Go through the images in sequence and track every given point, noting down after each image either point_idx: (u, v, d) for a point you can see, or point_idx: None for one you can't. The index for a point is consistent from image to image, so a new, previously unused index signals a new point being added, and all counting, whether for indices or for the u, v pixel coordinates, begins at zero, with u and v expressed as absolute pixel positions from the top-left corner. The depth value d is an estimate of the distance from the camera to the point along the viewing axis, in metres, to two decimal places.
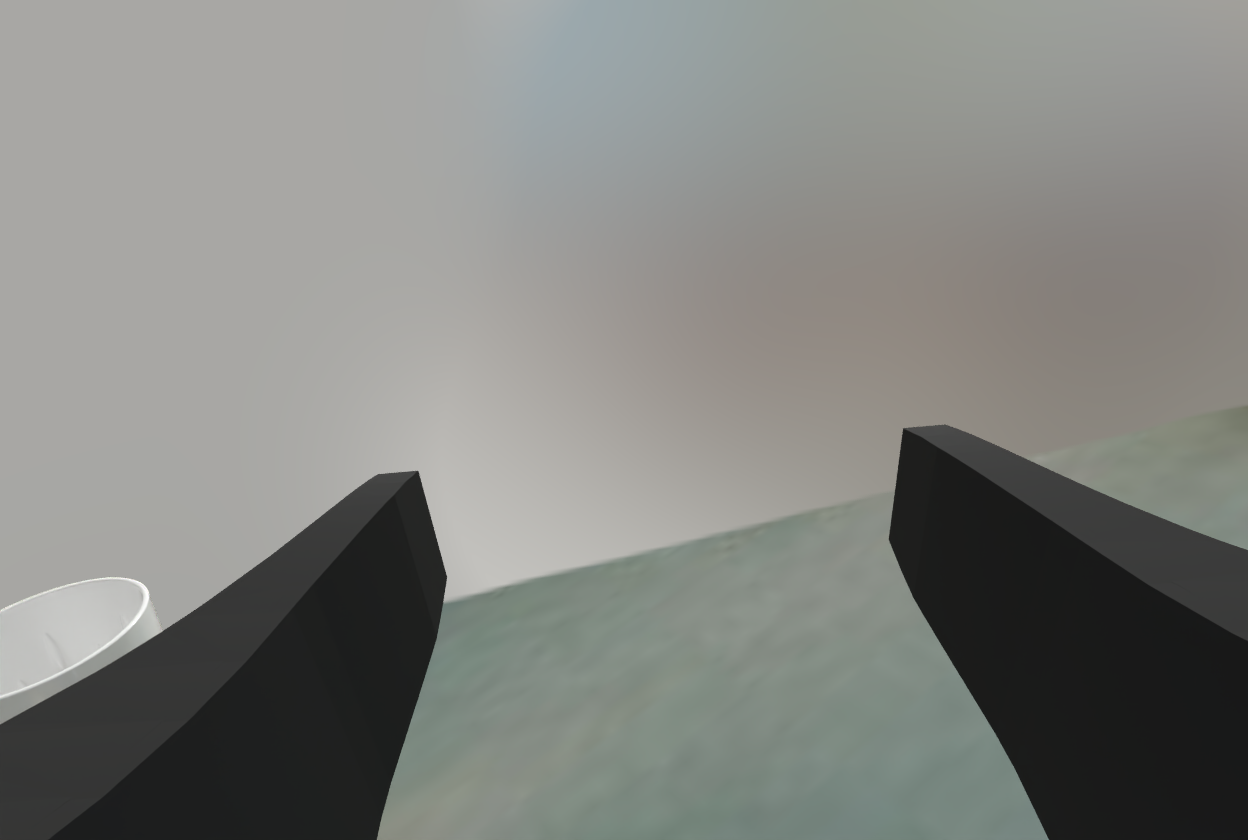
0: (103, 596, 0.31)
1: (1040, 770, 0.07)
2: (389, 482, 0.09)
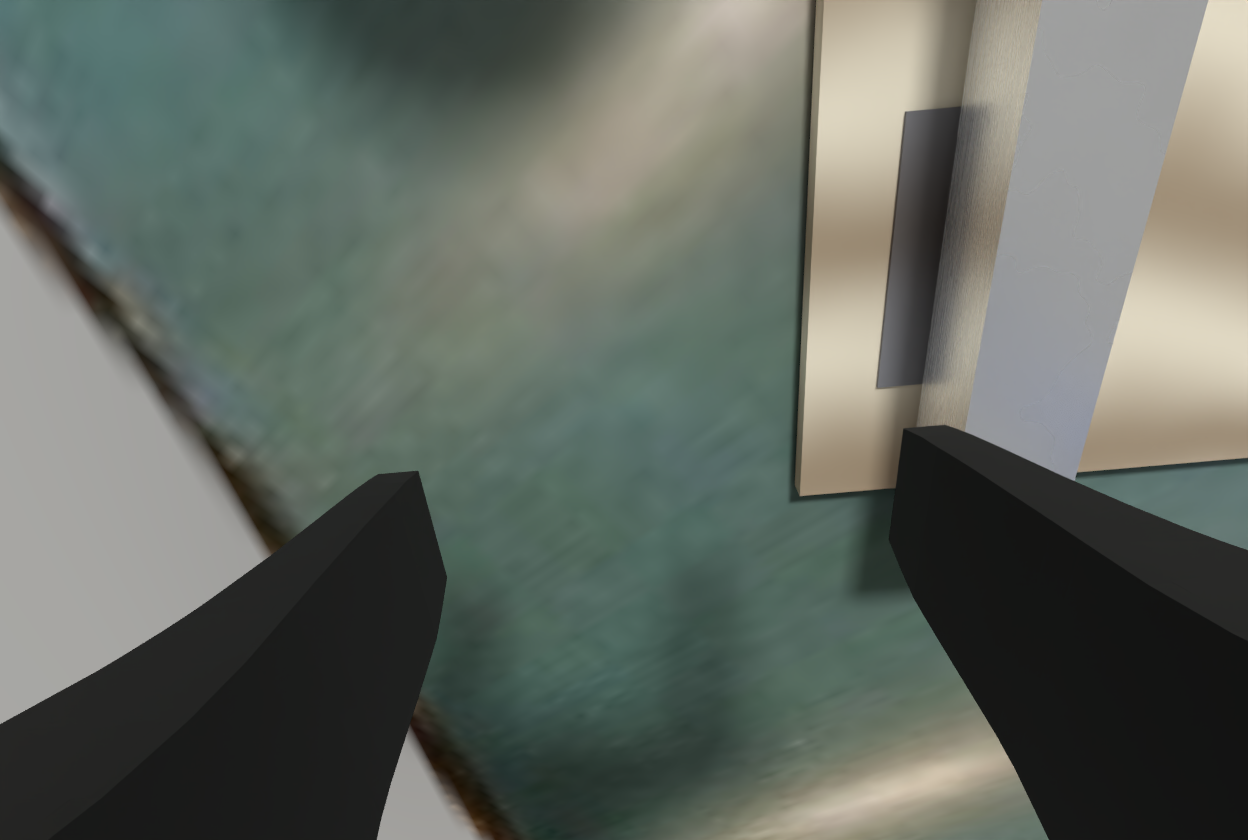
0: None
1: (1040, 770, 0.07)
2: (389, 482, 0.09)
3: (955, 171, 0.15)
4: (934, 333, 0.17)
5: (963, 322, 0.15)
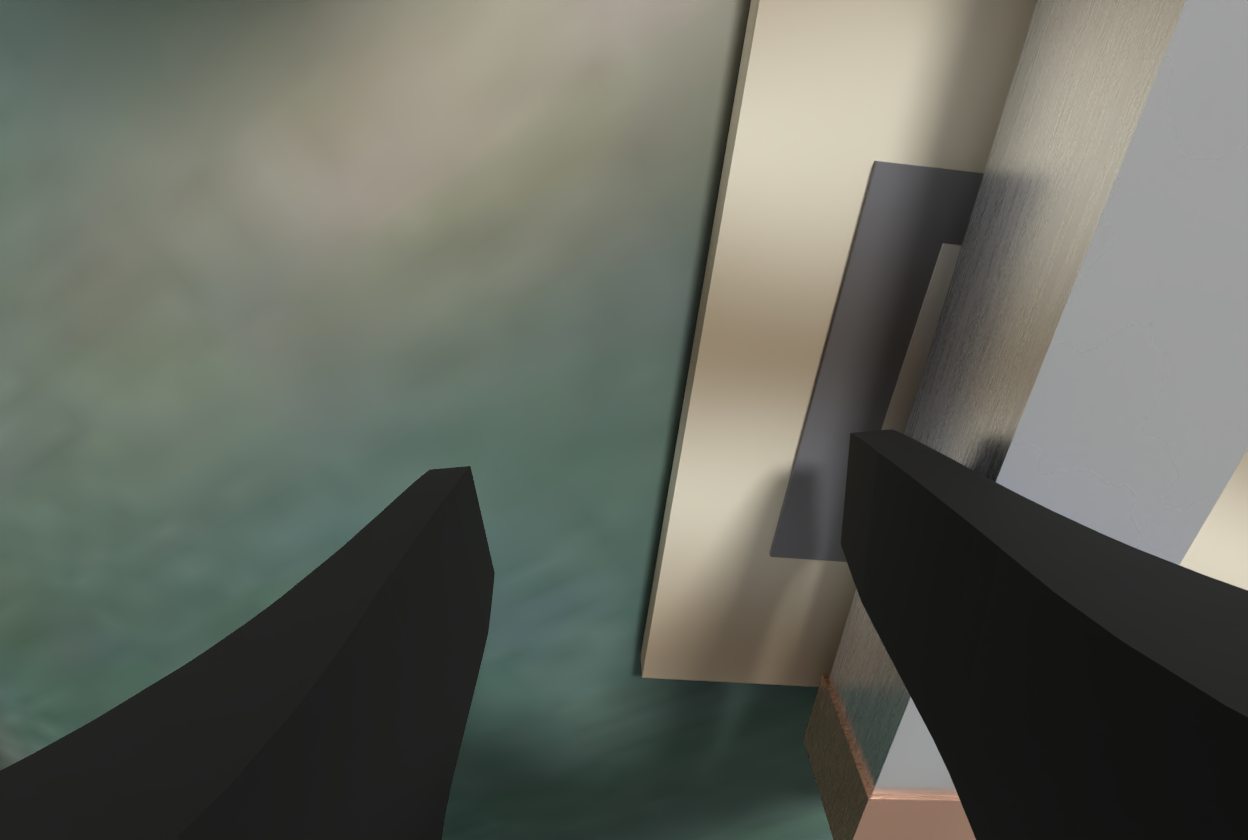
0: None
1: (970, 776, 0.07)
2: (444, 477, 0.09)
3: (957, 279, 0.09)
4: None
5: None
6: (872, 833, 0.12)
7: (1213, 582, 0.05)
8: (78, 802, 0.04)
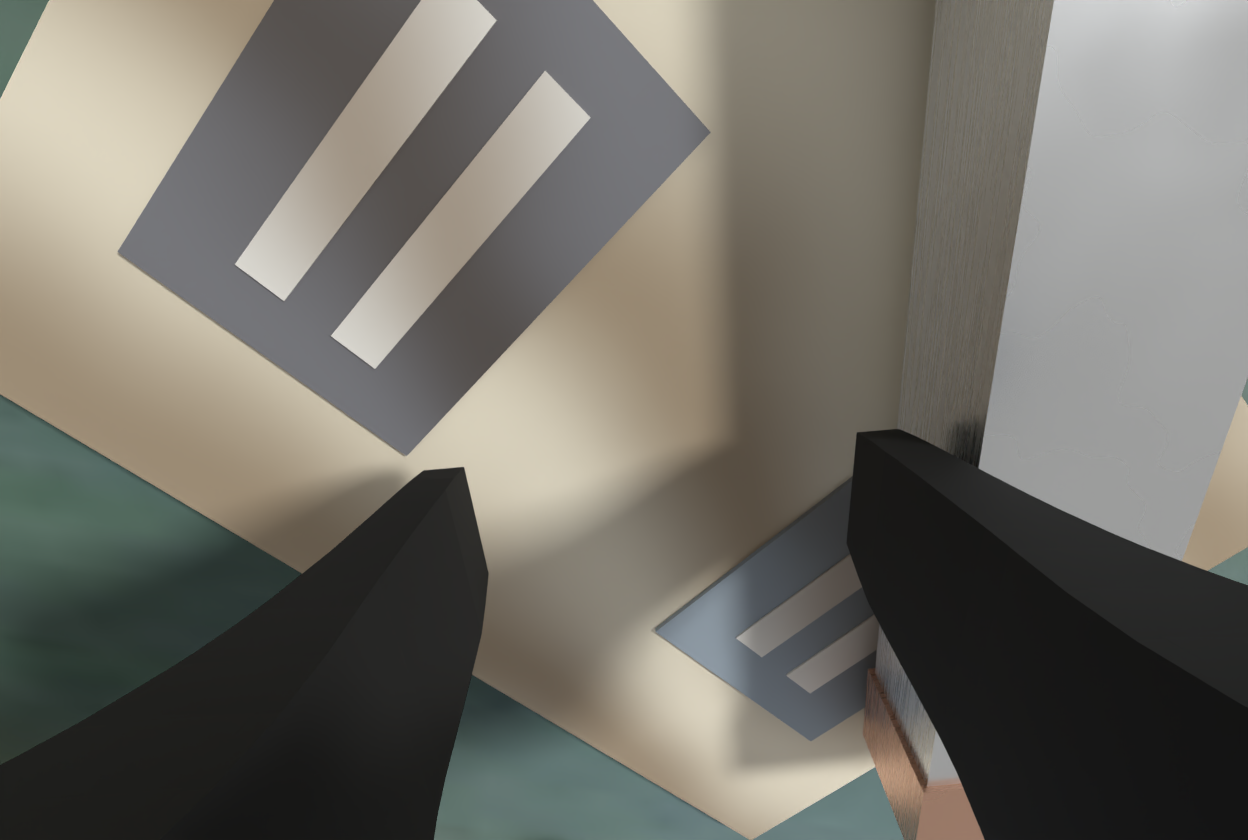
0: None
1: (978, 775, 0.07)
2: (437, 478, 0.09)
3: (915, 273, 0.09)
4: None
5: None
6: (936, 825, 0.11)
7: (1224, 581, 0.05)
8: (60, 805, 0.04)
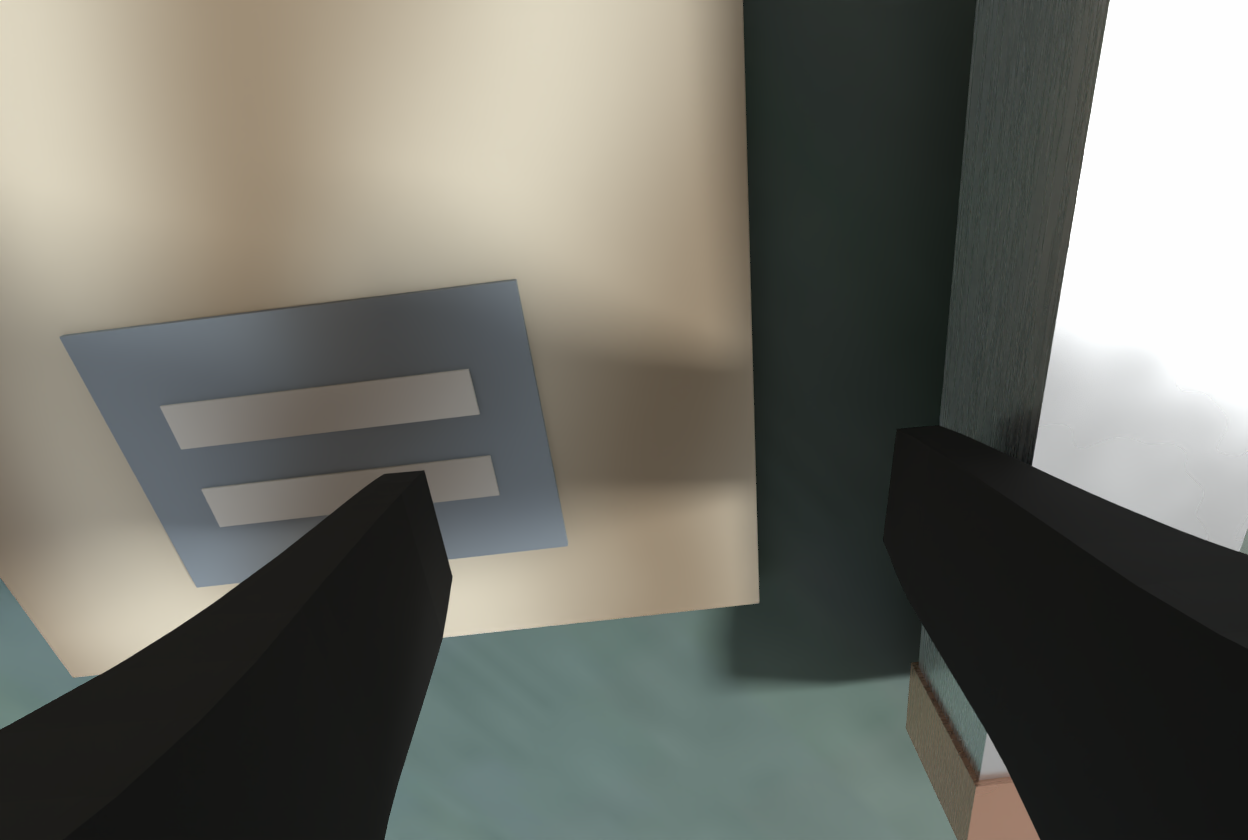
0: None
1: (1031, 771, 0.07)
2: (395, 481, 0.09)
3: (958, 263, 0.09)
4: None
5: None
6: (988, 819, 0.11)
7: None
8: None
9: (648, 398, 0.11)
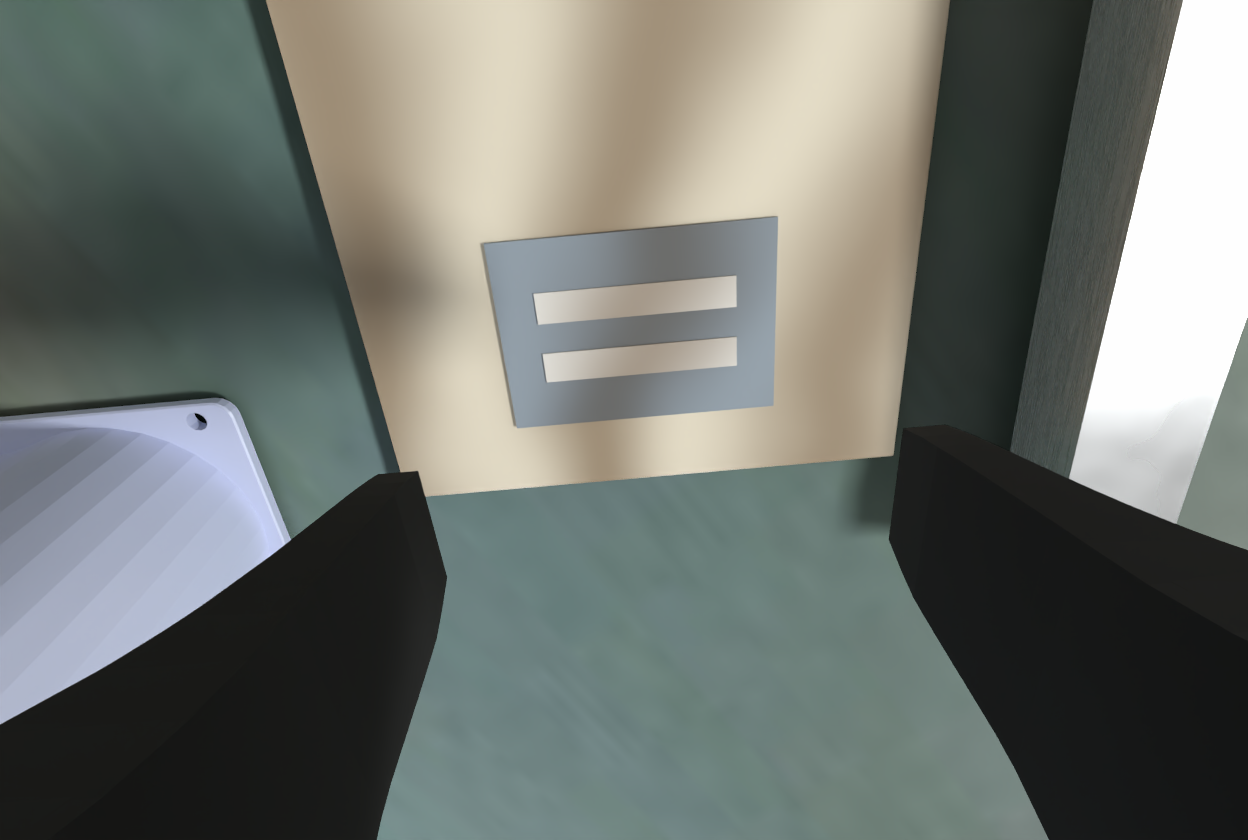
0: None
1: (1040, 770, 0.07)
2: (389, 482, 0.09)
3: (1058, 212, 0.15)
4: (1031, 370, 0.17)
5: (1068, 363, 0.15)
6: None
7: None
8: None
9: (844, 300, 0.17)
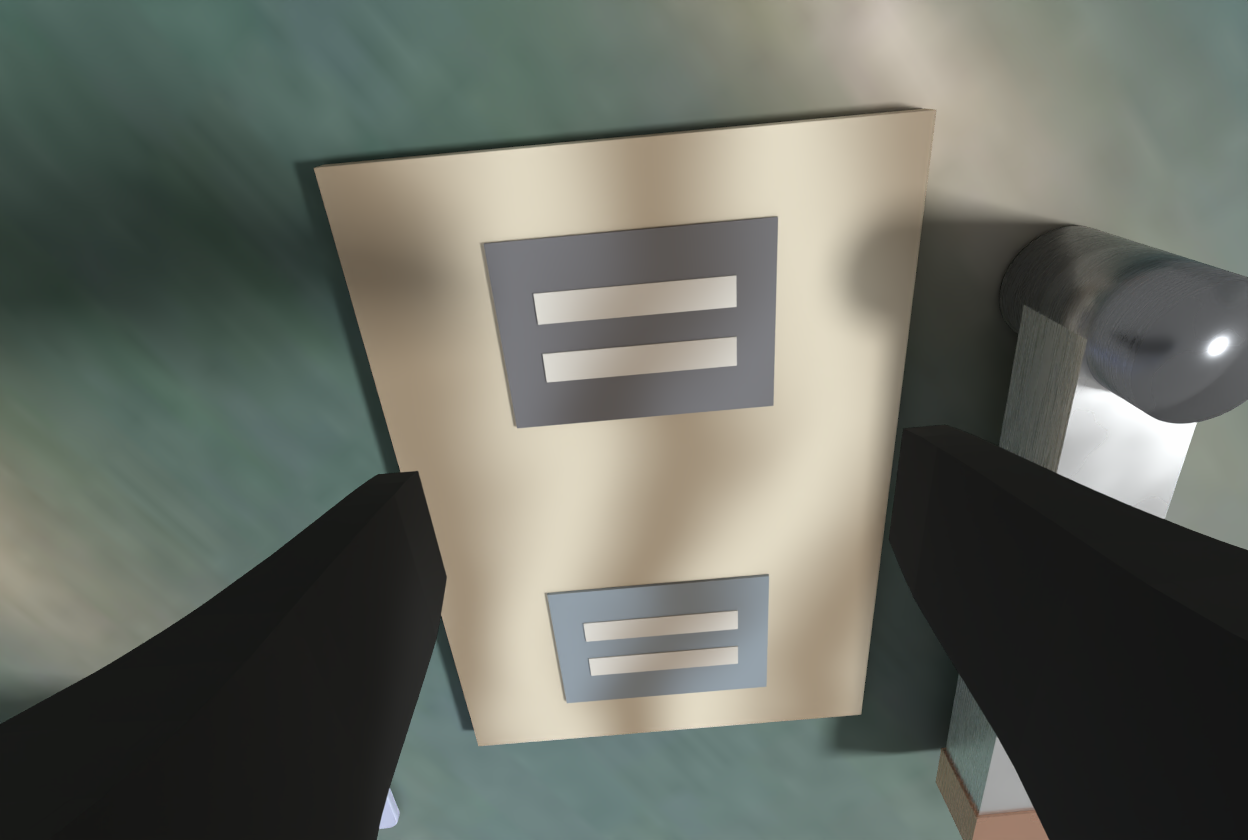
0: None
1: (1040, 770, 0.07)
2: (389, 482, 0.09)
3: None
4: None
5: None
6: (982, 834, 0.22)
7: None
8: None
9: (820, 621, 0.22)
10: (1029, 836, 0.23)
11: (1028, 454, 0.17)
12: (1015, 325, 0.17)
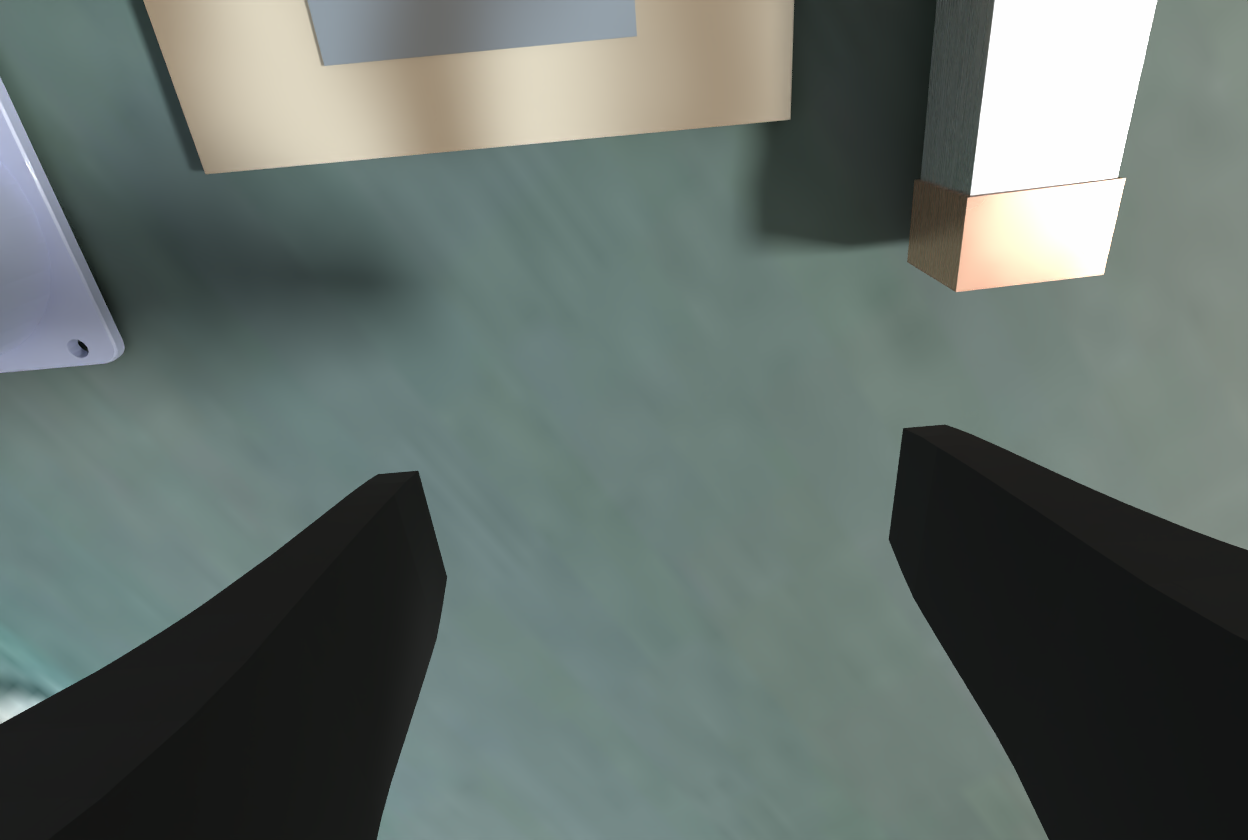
0: None
1: (1040, 770, 0.07)
2: (389, 482, 0.09)
3: None
4: None
5: None
6: (976, 242, 0.14)
7: None
8: None
9: None
10: (1051, 252, 0.14)
11: None
12: None
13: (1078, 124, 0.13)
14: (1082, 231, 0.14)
